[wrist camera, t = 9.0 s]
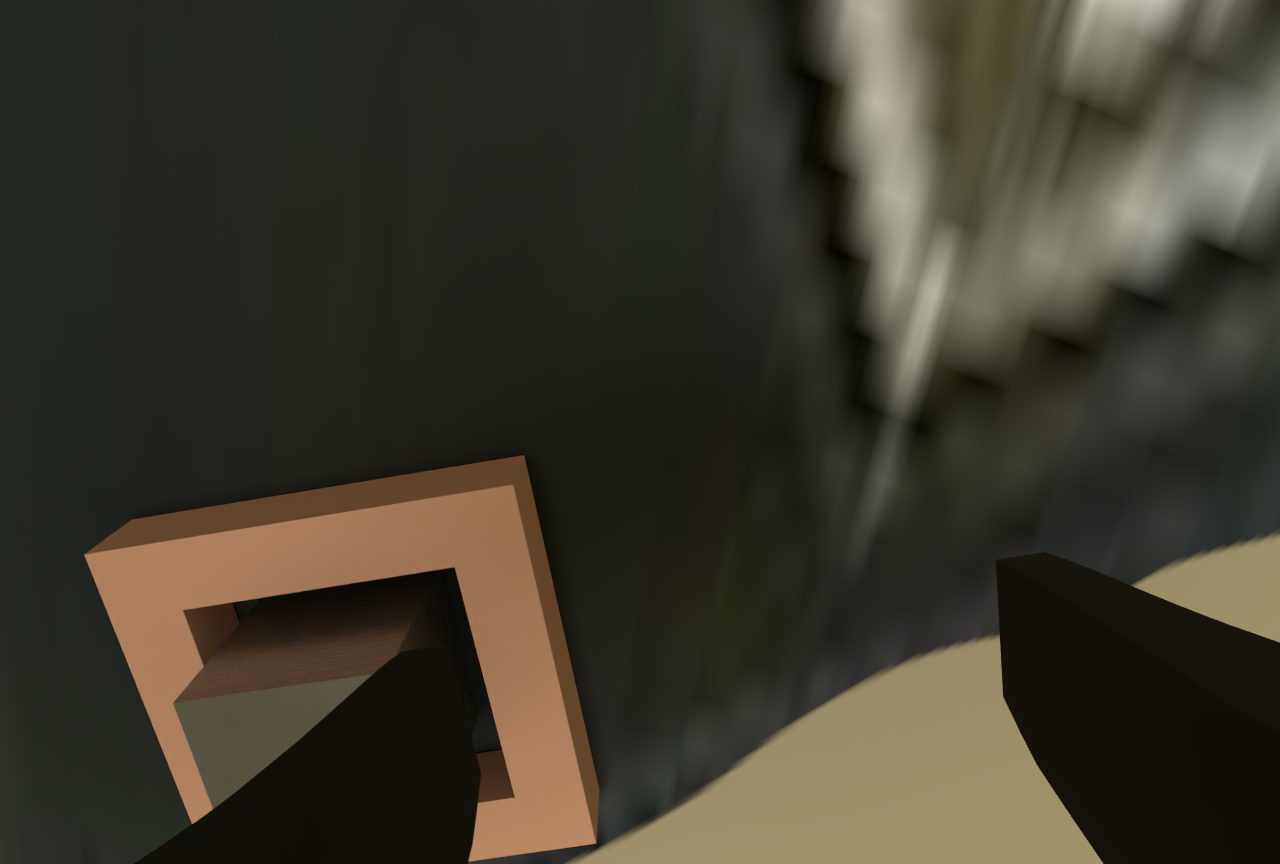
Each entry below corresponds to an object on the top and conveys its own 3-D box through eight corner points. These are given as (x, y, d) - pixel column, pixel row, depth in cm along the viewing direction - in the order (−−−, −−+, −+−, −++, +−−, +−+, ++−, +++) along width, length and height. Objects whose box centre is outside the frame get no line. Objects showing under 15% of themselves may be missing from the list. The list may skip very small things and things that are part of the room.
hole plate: (252, 839, 25) (221, 896, 23) (132, 519, 22) (84, 554, 20) (599, 789, 25) (596, 843, 23) (524, 454, 22) (513, 484, 20)
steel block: (317, 733, 24) (238, 877, 19) (270, 587, 23) (172, 702, 18) (479, 710, 24) (439, 850, 19) (440, 561, 23) (387, 671, 18)
